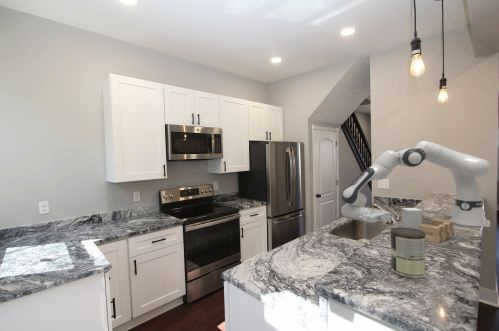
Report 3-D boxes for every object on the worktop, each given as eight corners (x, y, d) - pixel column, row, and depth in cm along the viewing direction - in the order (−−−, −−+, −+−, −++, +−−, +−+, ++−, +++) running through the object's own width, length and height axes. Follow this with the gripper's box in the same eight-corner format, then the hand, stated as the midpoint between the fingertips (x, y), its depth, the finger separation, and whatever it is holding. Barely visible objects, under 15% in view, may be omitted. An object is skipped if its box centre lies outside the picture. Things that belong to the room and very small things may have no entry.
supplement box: (423, 234, 129) (422, 210, 129) (407, 234, 131) (406, 210, 130) (416, 231, 136) (416, 207, 136) (401, 230, 138) (401, 207, 138)
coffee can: (384, 267, 91) (383, 228, 91) (407, 264, 94) (406, 226, 94) (409, 280, 81) (408, 236, 81) (433, 275, 84) (433, 233, 84)
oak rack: (435, 231, 134) (434, 218, 134) (453, 235, 127) (453, 221, 127) (418, 239, 122) (418, 225, 121) (438, 243, 115) (438, 228, 115)
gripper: (357, 212, 147) (381, 215, 136) (375, 207, 159) (398, 210, 148) (357, 222, 147) (381, 227, 136) (375, 217, 159) (398, 221, 148)
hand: (390, 218), depth 142 cm, fingers closed
